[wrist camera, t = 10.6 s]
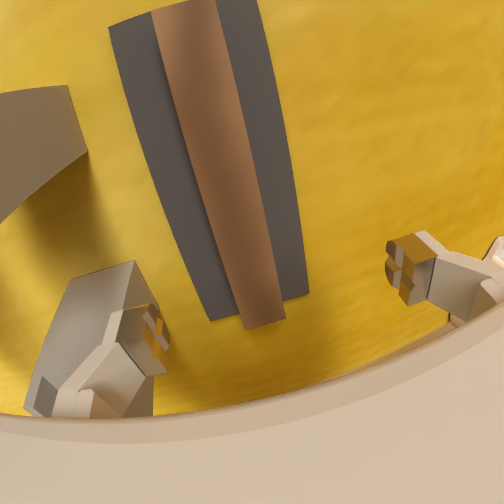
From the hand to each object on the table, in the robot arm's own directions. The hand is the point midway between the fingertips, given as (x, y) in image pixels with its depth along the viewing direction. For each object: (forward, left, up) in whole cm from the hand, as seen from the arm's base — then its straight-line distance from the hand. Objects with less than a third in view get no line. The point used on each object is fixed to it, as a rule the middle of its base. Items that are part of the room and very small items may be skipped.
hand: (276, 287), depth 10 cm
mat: (+1, 0, -12) cm, 12 cm away
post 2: (+12, +7, -12) cm, 18 cm away
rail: (+1, 0, -11) cm, 11 cm away
